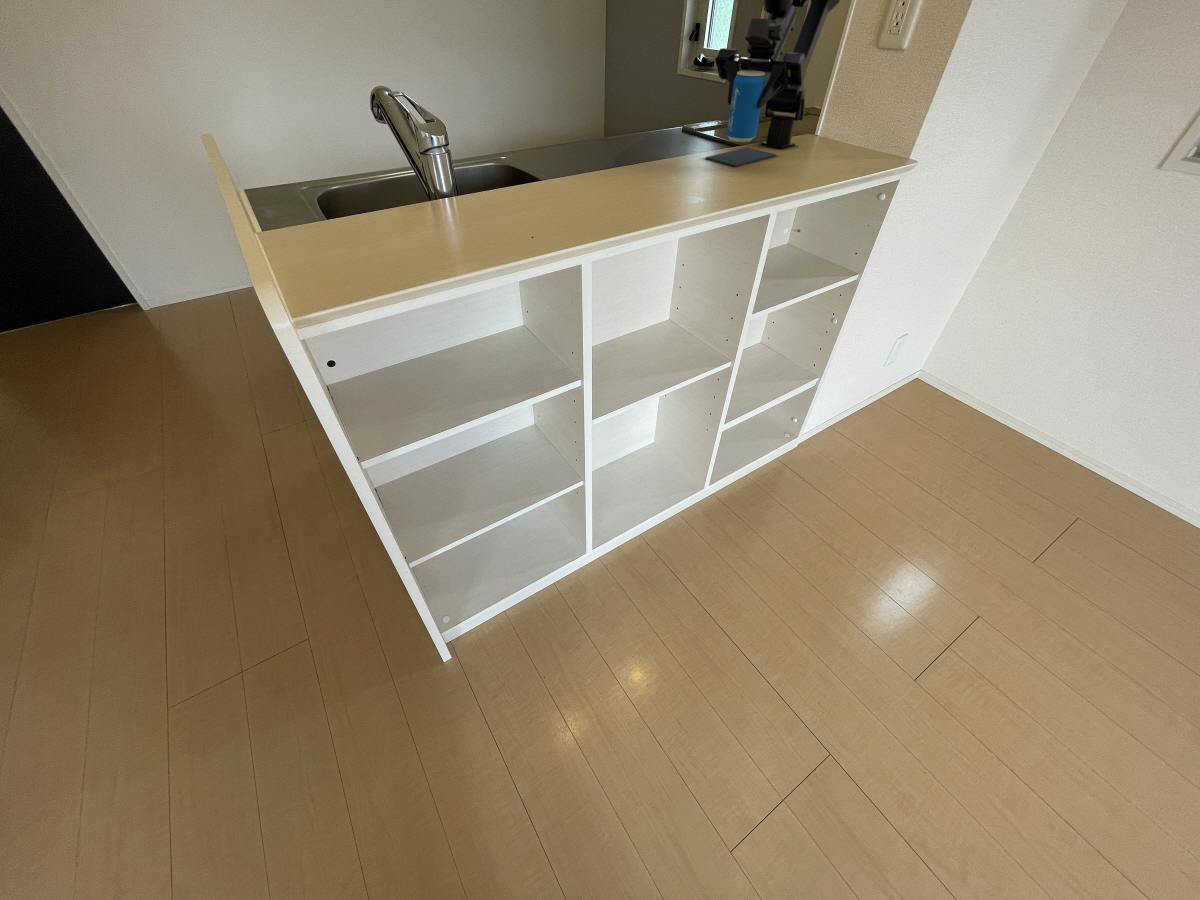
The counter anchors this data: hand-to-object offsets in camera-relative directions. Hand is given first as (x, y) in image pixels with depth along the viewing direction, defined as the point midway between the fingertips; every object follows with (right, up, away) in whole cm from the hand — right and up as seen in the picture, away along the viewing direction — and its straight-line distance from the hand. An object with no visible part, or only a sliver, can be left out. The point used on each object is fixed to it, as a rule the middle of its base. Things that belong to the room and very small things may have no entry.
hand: (743, 105), depth 107 cm
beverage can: (+1, -4, +5) cm, 7 cm away
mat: (+4, -1, +17) cm, 17 cm away
